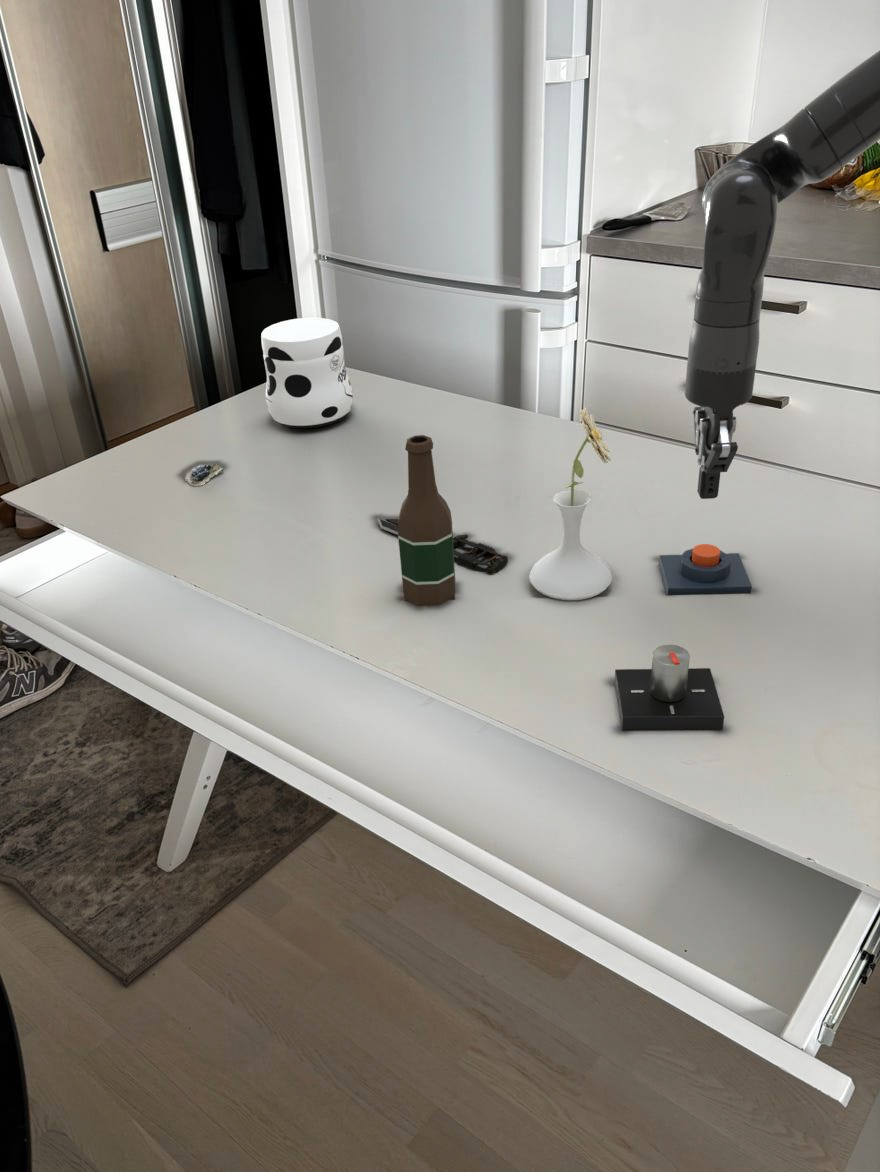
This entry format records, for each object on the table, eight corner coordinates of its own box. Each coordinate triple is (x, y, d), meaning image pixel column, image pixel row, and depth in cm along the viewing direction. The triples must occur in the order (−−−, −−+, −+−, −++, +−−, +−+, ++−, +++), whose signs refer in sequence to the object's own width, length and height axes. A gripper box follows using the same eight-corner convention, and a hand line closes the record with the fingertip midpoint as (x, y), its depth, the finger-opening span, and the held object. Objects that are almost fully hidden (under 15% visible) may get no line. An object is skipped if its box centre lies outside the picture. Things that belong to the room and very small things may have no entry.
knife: (371, 526, 158) (370, 519, 157) (401, 512, 161) (400, 504, 160) (482, 580, 141) (482, 572, 140) (513, 563, 144) (513, 555, 144)
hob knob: (645, 683, 114) (648, 644, 111) (678, 679, 114) (682, 640, 111) (656, 704, 110) (659, 665, 107) (690, 699, 111) (695, 660, 107)
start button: (716, 554, 136) (717, 543, 135) (721, 567, 133) (722, 556, 132) (689, 555, 136) (690, 544, 135) (693, 568, 133) (695, 557, 132)
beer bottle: (417, 579, 143) (404, 424, 129) (466, 588, 140) (458, 430, 126) (393, 607, 137) (377, 447, 124) (444, 617, 134) (433, 454, 120)
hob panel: (707, 688, 117) (710, 666, 115) (721, 737, 109) (724, 715, 108) (613, 689, 118) (615, 668, 116) (621, 737, 111) (622, 716, 109)
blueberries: (228, 467, 181) (226, 458, 180) (214, 486, 175) (212, 477, 174) (193, 467, 182) (191, 458, 181) (178, 486, 176) (176, 477, 175)
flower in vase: (594, 615, 131) (602, 441, 117) (516, 598, 136) (514, 429, 122) (626, 569, 141) (636, 402, 126) (552, 554, 146) (554, 393, 131)
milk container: (372, 413, 198) (363, 323, 187) (309, 442, 188) (296, 349, 178) (315, 396, 208) (303, 311, 198) (252, 423, 198) (236, 334, 188)
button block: (737, 563, 140) (740, 541, 138) (750, 597, 132) (753, 574, 130) (658, 565, 141) (660, 543, 139) (667, 598, 133) (669, 576, 131)
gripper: (771, 376, 105) (751, 519, 115) (741, 337, 116) (726, 471, 126) (700, 380, 106) (686, 522, 116) (677, 341, 117) (666, 474, 127)
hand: (707, 495), depth 121 cm, fingers closed
